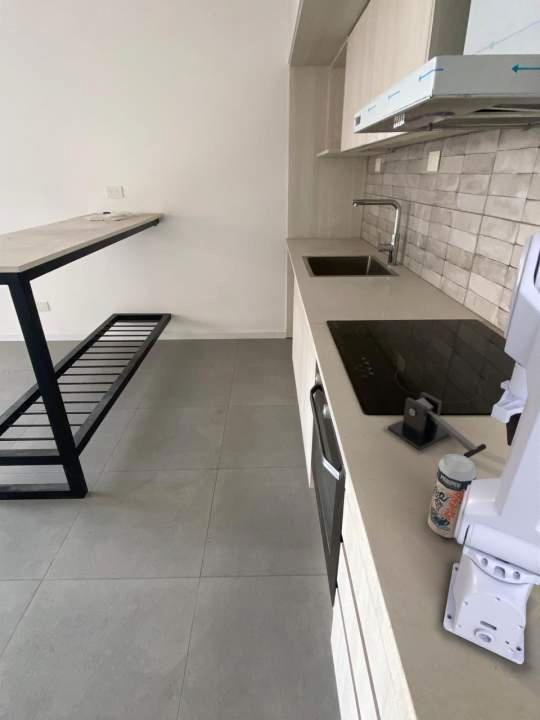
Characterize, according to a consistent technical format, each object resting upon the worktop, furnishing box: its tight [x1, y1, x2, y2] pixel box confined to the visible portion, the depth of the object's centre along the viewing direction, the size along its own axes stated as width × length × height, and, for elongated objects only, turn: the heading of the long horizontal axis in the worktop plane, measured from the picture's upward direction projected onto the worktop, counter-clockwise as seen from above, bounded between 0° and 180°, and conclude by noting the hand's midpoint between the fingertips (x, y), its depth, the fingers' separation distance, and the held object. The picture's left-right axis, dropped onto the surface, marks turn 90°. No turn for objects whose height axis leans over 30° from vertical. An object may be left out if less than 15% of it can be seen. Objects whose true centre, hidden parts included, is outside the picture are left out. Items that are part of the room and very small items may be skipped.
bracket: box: [387, 391, 451, 452], centre depth 78 cm, size 8×9×8 cm
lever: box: [415, 398, 487, 459], centre depth 73 cm, size 14×5×2 cm, turn 30°
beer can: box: [427, 453, 478, 539], centre depth 56 cm, size 5×5×12 cm
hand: (516, 446), depth 59 cm, fingers closed
